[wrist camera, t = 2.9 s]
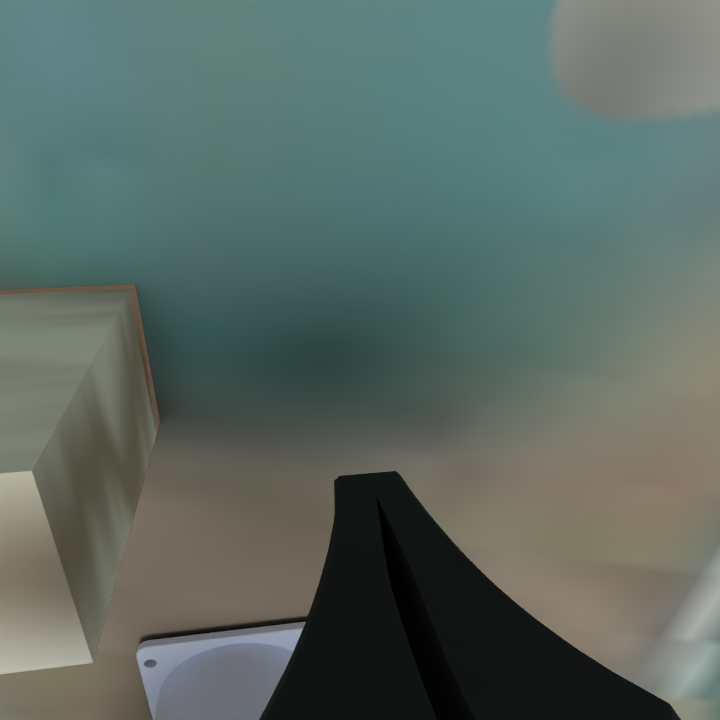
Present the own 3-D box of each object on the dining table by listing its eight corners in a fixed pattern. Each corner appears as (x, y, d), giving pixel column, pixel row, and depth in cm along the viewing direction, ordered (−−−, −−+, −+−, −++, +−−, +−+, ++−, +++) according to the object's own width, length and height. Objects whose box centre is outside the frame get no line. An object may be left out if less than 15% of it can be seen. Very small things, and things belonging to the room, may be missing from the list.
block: (160, 422, 20) (92, 662, 12) (4, 433, 19) (-174, 695, 12) (135, 283, 18) (31, 470, 10) (-44, 291, 17) (-307, 498, 9)
